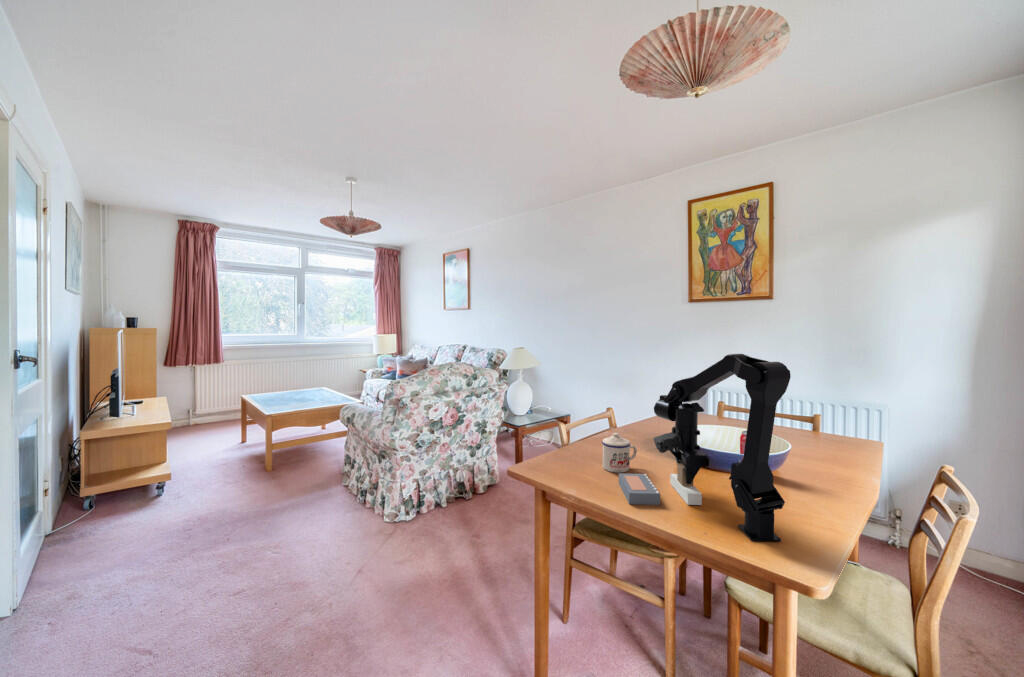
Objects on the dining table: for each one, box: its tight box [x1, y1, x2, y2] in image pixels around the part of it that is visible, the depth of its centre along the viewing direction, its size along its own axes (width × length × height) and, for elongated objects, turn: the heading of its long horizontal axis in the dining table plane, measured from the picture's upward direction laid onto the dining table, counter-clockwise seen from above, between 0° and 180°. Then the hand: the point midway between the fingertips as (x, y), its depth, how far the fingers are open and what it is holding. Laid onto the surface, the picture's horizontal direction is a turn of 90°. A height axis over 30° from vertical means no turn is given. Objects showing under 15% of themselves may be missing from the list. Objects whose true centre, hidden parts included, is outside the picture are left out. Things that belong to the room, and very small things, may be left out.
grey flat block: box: [618, 472, 661, 506], centre depth 115 cm, size 14×8×3 cm, turn 177°
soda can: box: [739, 430, 747, 455], centre depth 129 cm, size 7×7×13 cm
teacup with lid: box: [601, 432, 638, 474], centre depth 135 cm, size 12×9×12 cm
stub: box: [669, 462, 703, 506], centre depth 114 cm, size 14×4×8 cm, turn 177°
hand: (685, 480), depth 114 cm, fingers open, 5 cm apart
